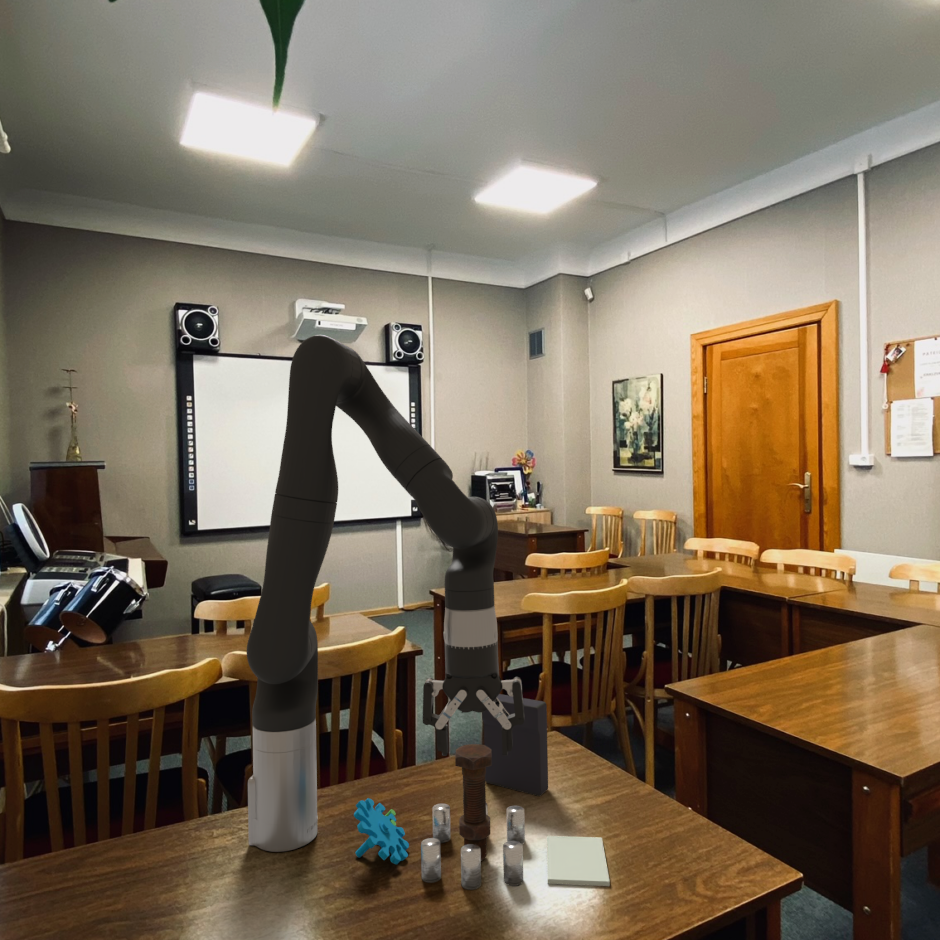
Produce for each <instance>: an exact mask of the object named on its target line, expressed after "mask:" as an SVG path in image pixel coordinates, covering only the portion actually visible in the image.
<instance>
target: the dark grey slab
mask: <svg viewBox="0 0 940 940" xmlns="http://www.w3.org/2000/svg"><path fill="white" fill-rule="evenodd" d="M497 698H498V699H499V701H500V702H501V703H502V705H503V707H504V708H505V710H506V711H507V712H508V713H509V715H511V714H514V713H515V710H514V700H513V696H509V695H508V694H503V693H502V694H501V693H500V694H499V695H498V696H497ZM494 702H495V701H494ZM523 705H524V723H523V724H522V725H515V726H514V727H513V728H512V740H513V745H512V750H511V751H508V756H503V754H502V725H501V724H500V723H499V721H498V720H497V719H496V718H494V716H493V715H492V714H491V713H490V711H489V710H486V711H484V713H481V720H482V722H483V733H484V735H483V737H484V738H483V740H484V743H483V745H485V746H487V747H489V748H490V749H491V753H492V766H488V767H486V774H485V784H486V783H487V784H491V785H494V786H497V787H502V788H505V789H510V790H514V791H518V792H522V793H525V794H530V795H533V794H534V796H537V795H538V796H537V797H541V796H542V795H543V794H544V793H545V792H546V791H548V789H549V763H548V762H549V761H548V759H549V758H548V757H549V756H548V755H549V753H548V751H549V750H548V715H547V714H548V710H547V709H548V708H547V706H548V705H547V703H546V702H545V701H542V700H536V699H532V698H531V699H530V698H525V697H523Z"/></svg>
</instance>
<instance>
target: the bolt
mask: <svg viewBox="0 0 940 940" xmlns="http://www.w3.org/2000/svg"><path fill="white" fill-rule="evenodd" d="M454 761H455V766H456V767H458V768H461V775H462V789H463V790H462V791H463V792H462V797H463V798H462V799H463V801H462V802H463V804H462V805H463V807H462V809H463V810H462V811H463V814H462V815H461V816H460V817H459V826H458V828H459V831H458V832H459V836H460V837H462V838H463V846H464V845H467V844H475V845H478V846H479V847H480V849H481V861H483V860H485V859H486V858H487V856H488V852H487V851H488V849H487V847H488V846H487V845H488V844H487V841H488V840H487V838H488V837H489V836H490V835H491V817H490V816H489V814H488V815H487V814H486V803H487V797H486V795H487V794H486V792H487V791H486V790H487V789H486V788H487V787H486V781H485V774H486V767H488V766H492V753H491V749H490V748H489V747H487V746H485V745H484V744H479V743H472V744H470V743H469V744H462V745H461V746H459V747H458V748H456V749H455V759H454Z"/></svg>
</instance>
